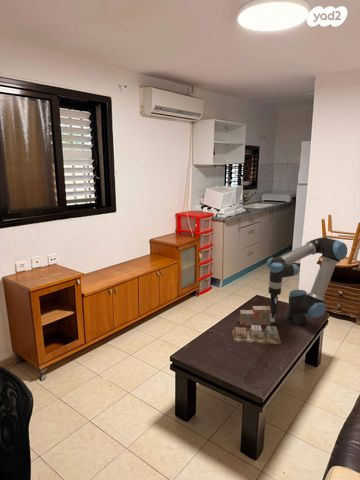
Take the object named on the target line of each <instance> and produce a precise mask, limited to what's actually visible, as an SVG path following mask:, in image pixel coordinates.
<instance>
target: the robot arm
mask: <svg viewBox="0 0 360 480" xmlns="http://www.w3.org/2000/svg"><path fill="white" fill-rule="evenodd" d="M316 254H321V258H322V261H321V264H320V266H319V270H318V271H317V274H316V277H315V279H314V281H313V285H312V287H311V290H310V292H309V293H308V292H307V291H306V290H303V289H293V290H290V291H289V294H288V305H287V306H288V307H287V311H286V312H285V314H284V315H285V316H284V321H285V322H286V323H288V324H290V325H293V326H304V325H306V324H307V322H308V321H307V320H308V319H307V315H308V317H311V318H313V319H317V318H320V317H322V316H323V315H324V314H325V313H326V309H327V307H326V305H325V301H326V300H325V295H326V291H327V289H328V287H329V284H330V282H331V279H332V275H333V273H334V270H335V269H336V266H337V264H339V263H340V262H341V260H342V261H343V260H344V259H345V258H346V257H347V256H348V247H347V244H346V243H345V242H342V241H341V240H337V239H332V238H330V237H329V238H328V237H318V238H314V239H311V240H310V241H309V240H308V241H307V242H306V243H305V244H304V245H302V246H300V247H298V248H295V249H293V250H291V251H290V252H287V253H285V254H283V255H281V256H279V257H276V258H274V257H269V259H267V261H266V266H267V268H269V281H268V286H269V287H268V294H270V301H269V302H270V305H269V307H270V309H271V312H270V322H271V323H275V320H276V314H277V309H278V304H279V301H278V299H279V297H278V296H279V295H281V294H282V284H283V278H288V277H295V276H297V275H299V270H300V269H299V266H298V265H297V264H296V262H298V261H300V260H303V259H304V258H306V257H308V256H311V255H312V256H313V255H316ZM294 263H295V264H294Z"/></svg>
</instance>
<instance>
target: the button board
mask: <svg viewBox="0 0 360 480" xmlns="http://www.w3.org/2000/svg"><path fill="white" fill-rule="evenodd" d="M233 328H234V329H233V330H232V331H231V332H232V333H231V334H232V341H233V343H249V344H250V343H252V344H269V345H282V341H281V339H280V334H279V331H278V332H277V335H267V331H266V328H264V330H263V331H262V333H261V334H252V332H251V327H249V328H248V329H247V327H244V328H245V331H246V333H236V328H241V327H237V326H236V327H233Z"/></svg>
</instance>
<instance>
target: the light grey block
mask: <svg viewBox="0 0 360 480" xmlns="http://www.w3.org/2000/svg"><path fill="white" fill-rule="evenodd" d="M277 328H278V327H277V326H276V325H275V326H274V325H273V326H272V325H266V328H265V329H266V331H267V335H277V332H278V333H279V331H278V329H277Z"/></svg>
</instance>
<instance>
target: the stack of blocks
mask: <svg viewBox="0 0 360 480" xmlns="http://www.w3.org/2000/svg"><path fill="white" fill-rule="evenodd" d="M270 312H271V309H270V305H253V306H252V308H251V309H240V310H239V316H238V317H239V319H238V320H239V324H240V326H250V327H251V325H259V326H272V322H270Z"/></svg>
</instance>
